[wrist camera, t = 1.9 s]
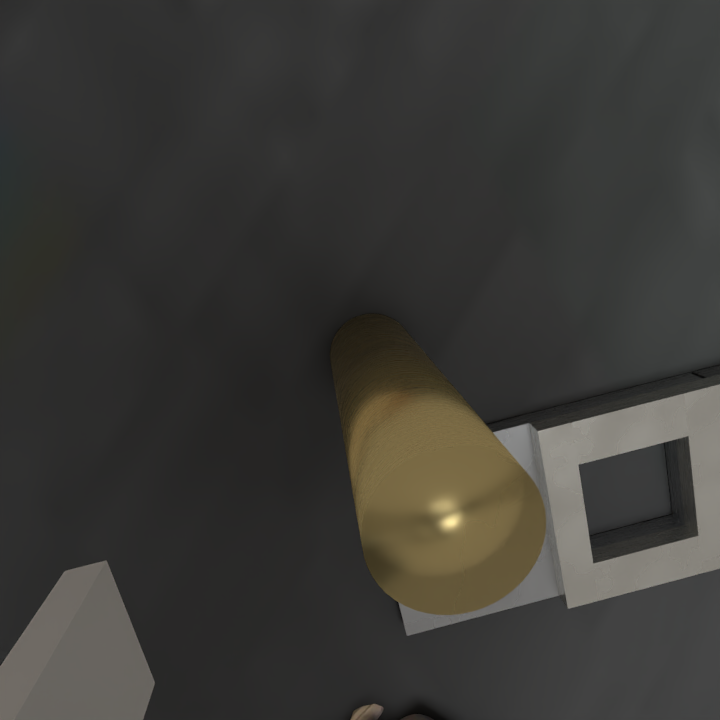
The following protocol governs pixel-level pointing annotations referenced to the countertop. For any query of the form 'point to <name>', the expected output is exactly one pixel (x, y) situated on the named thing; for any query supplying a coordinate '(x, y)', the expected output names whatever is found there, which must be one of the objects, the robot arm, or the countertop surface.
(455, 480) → the pin
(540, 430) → the light grey flat block
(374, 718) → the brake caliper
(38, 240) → the countertop surface
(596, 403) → the lower link
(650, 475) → the countertop surface
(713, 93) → the countertop surface
